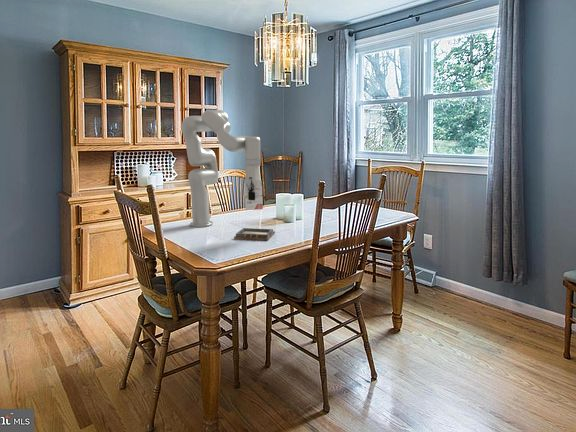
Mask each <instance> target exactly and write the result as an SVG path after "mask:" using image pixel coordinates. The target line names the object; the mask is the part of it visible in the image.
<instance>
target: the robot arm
mask: <svg viewBox="0 0 576 432" xmlns="http://www.w3.org/2000/svg"><path fill="white" fill-rule="evenodd" d="M231 126H232V125H231V124H230V122H229V115H228V114H227V112H226V111H224V110H221V109H208V110H205V111H204V112H202V114H201V115H188V116H186V117H184V118H183V120H182V123H181V132H182V136H183V138H184V142H185V147H186V155H187V159H188V164H189V165H190V166H191V167H203V168H194V169H191V170H190V171H189V172H188V183H189V189H190V198H191V214H192V216H191V217H192V221H191V222H190V223H189V225H190V227H193V228H204V227H205V228H206V227H210V226H212V225H213V224H214V223H213V222H214V221H212V220H211V218H212V216H211V214H210V200H209V199H210V198H209V197H210V196H209V194H210V193H209V191H208V189H207V187H206V186H209V185H210V186H211V185H215V184H217V182H218V181H219V170H218V161H217V156H216V154H215V152H214V151H213V149H211V148H209V147H208V148H206V147H205V148H203V145H202V140H201V137H200V136H199V135H198V134H197V133H202V132H203V133H207V132H212V133H214V134H215V135H216V137H217V141H218V143H219V144H220V146H222V147H223V148H224V149H225V150H227V151H229V152H230V153H231V152H232V153H237V152H238V153H239V152H242V153H243V152H244V156H245V157H244V162H245V163H244V165H245V166H246V168H245V181H246V186H247V185H248V199H249V200H255V192H254V189H255V186H256V185H257V180H261V173H260V172H261V171H260V167H261V163H262V156H261V155H262V154H261V138H260V137H259V136H248V135H233V136H232V135H231V134H230V131H231V128H232V127H231ZM252 185H253V186H252ZM252 187H253V189H252Z"/></svg>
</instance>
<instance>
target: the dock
mask: <svg viewBox="0 0 576 432" xmlns="http://www.w3.org/2000/svg"><path fill="white" fill-rule="evenodd" d="M275 233H276V232H275V230H274V229H273V228H272V229H271V228H252V227H251V228H249V227H248V228H247V227H243V228H241V229H240V230H239V231H237V232H236V233H235V236H234V237H233V240H242V241H263V242H268V241H269V240H270V239H271V238H272V237H273V236H274V235H275Z"/></svg>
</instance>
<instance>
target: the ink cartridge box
mask: <svg viewBox="0 0 576 432" xmlns="http://www.w3.org/2000/svg"><path fill="white" fill-rule="evenodd" d="M244 183H245V184H244V208H245V210H246V211H254V210H263V209H264V204H263V203H264V202H263V201H264V199H263V185H262V183H263V181H262V179H260V180H257V185H256V186H255V189H254V192H255V200H249V199H248V185H247V186H246V180H245V181H244ZM252 186H253V185H252ZM252 189H253V187H252Z"/></svg>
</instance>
